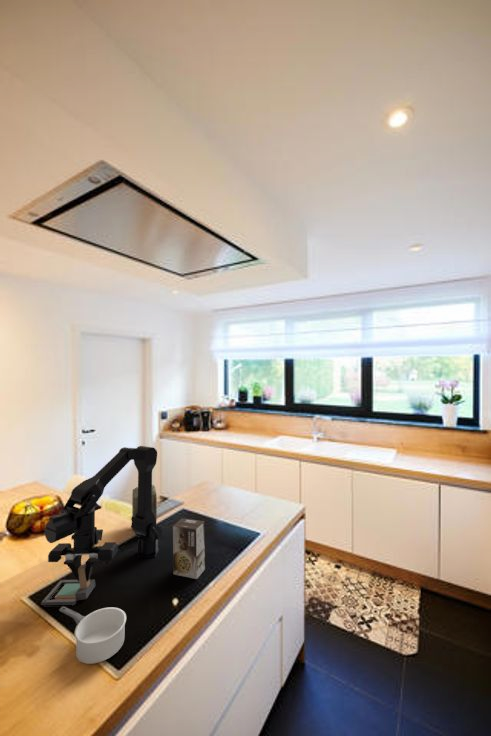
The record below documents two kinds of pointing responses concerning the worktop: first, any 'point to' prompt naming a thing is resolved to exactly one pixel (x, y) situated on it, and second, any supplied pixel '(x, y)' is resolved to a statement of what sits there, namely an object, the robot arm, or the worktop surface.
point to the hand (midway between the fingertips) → (83, 580)
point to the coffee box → (188, 548)
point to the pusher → (84, 584)
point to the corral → (60, 601)
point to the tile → (68, 591)
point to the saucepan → (98, 633)
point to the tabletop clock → (135, 501)
